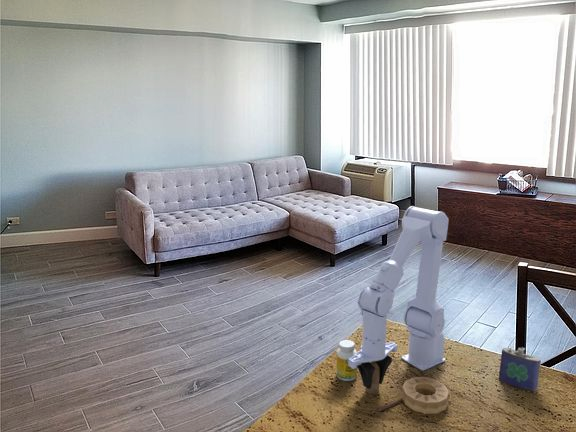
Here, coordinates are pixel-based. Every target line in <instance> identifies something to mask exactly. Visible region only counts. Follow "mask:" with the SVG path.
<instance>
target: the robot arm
mask: <svg viewBox="0 0 576 432" xmlns="http://www.w3.org/2000/svg"><path fill="white" fill-rule="evenodd" d="M449 220H450V219H449V217H448V216H447V215H446V213H445V212H444V211H436V210H431V209H427V208H422V207H417V206H416V205H415V206H414V205H411V206H409V207H408V208H407V209H406V210H405V211H404V214H403V217H402V219H401V228H402V231H401V232H400V234H399V238H398V239H397V242H396V244H395V246H394V249H393V251H392V254H391V255H390V257H389V260H386V261H383V262H382V263H381V265H380V266H379V269H378V270H377V272H376V274H375V276H374V278H373V279H372V280H371V283H370V285H369V286H368V287H365V288H363V289H362V290H361V292H360V294H359V297H358V300H357V305H358V307H359V309H360V315H361V316H362V332H361V333H362V335H361V337H362V339H361V341H362V344H361V345H360V350H358V351H357V353H356V354H355V355H354V356H353V357H351V358H349V359H348V366H350V367H351V368H353V369H355V368H357V371H359V374H360V378H361V381H362V385H363V387H365V389H366V388H367V389H370V388H371V385H372V376H373V373H374V370H375V367H373V366H372V365H371V363H370V362H372V361H374V362H376V363H377V364H378V365H379V366H380V374H379V385H382V384H383V381H384V378H385V376H386V373H387V370H388V368H389V367H390V365H391V364H392V362H393V358H392V356H389V355H390V353H392V352H393V353H397V352H398V346H399V345H398V344H397V343H395V342H393V341H390V342H387V317H388V316H387V315H388V314H389V313H390V311H391V309H392V307H393V304H394V298H395V293H394V292H395V291H396V289H397V287H398V286H399V284H400V282H401V279H402V278H403V276H404V270H403V266H404V265H405V263H406V262H407V260H408V259H409V257H410V255H411V254H412V253H413V252H414V249H416V246H418V243H420V242H422V244H421V250H420V251H421V252H420V257H419V259H420V260H419V267H418V268H419V269H418V276H417V284H416V293H415V297H413V298H411V299H409V300H408V301H407V303H406V308H405V310H404V313H403V323H404V325H405V326H407V331H409V337H408V341H409V342H408V353H407V354H405V355H402V356H401V359H402V360H403V361H405V362H406V363H409V364H410V365H412V366H413V367H415V368H417V369H418V370H419V371H422V372H423V371H425V370H428V369H430V368H432V367H434V366H437V365H439V364H441V363H443V362H445V361H446V358H445V357H444V348H445V337H444V334H443V333H444V332H443V330H444V328H445V324H446V321H445V315H444V314H445V308H444V307H443V306H442V305H441V304H440V302H439V301H438V300H437V298H436V297H437V291H438V285H439V283H438V282H439V277H440V276H439V275H440V268H441V261H442V260H441V259H442V251H443V245H444V242H445V241H447V237H448V230H449V229H448V228H449Z"/></svg>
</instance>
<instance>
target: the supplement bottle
mask: <svg viewBox="0 0 576 432" xmlns="http://www.w3.org/2000/svg"><path fill="white" fill-rule="evenodd" d="M338 344H339V346H338V349H337V351H336V376H337V378H338V379H339V380H341V381H345V382H351V381H354V380H355V379H356V378H357V373H358V368H355V369H353V368H351V367H350V366H348V359H349V358H351V357H353V356H354V355H355V354H356V353H358V351H357V350H356V349H355V345H356V343H355V342H354V341H352V340H350V339H344V340H340V341H339V343H338Z"/></svg>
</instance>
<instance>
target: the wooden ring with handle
mask: <svg viewBox="0 0 576 432" xmlns="http://www.w3.org/2000/svg"><path fill="white" fill-rule="evenodd" d="M401 391H402V393H401V394H402V395H401V397H400V398H397V399H395V400H393V401H391V402H389V403H387V404H384V405H382V406H380V407H379V408H378V412H382V411H385V410H386V409H389V408H391V407H393V406H395V405H397V404H399V403H401V402H404V405H405V406H406V407H408V408H410V409H411V411H412V410H413V411H414V412H419V413H420V414H425V415H431V414H432V415H433V414H439V413H441V412H443V411H446V410H447V407H448V404H449V394H450V393H449V390H448V388H447V387H446V385H445V384H444V383H443V382H440V381H439V380H437V379H434V378H429V377H426V376H419V377H418V376H416V377H415V376H414V377H411V378H409V379H407V380H405V381H404V383H403V384H402V390H401Z"/></svg>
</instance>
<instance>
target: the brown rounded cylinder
mask: <svg viewBox="0 0 576 432" xmlns="http://www.w3.org/2000/svg"><path fill="white" fill-rule="evenodd" d="M370 363H371V365H372V366H373V367H375V370H374V373H373V376H372V385H371V388H370V389H367V388H366V387H365V392H366V393H367V394H369V395H371V396H376V395H379V392H380V384H379V374H380V366H379V365H378V364H377V363H376V362H374V361H372V362H370Z"/></svg>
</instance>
